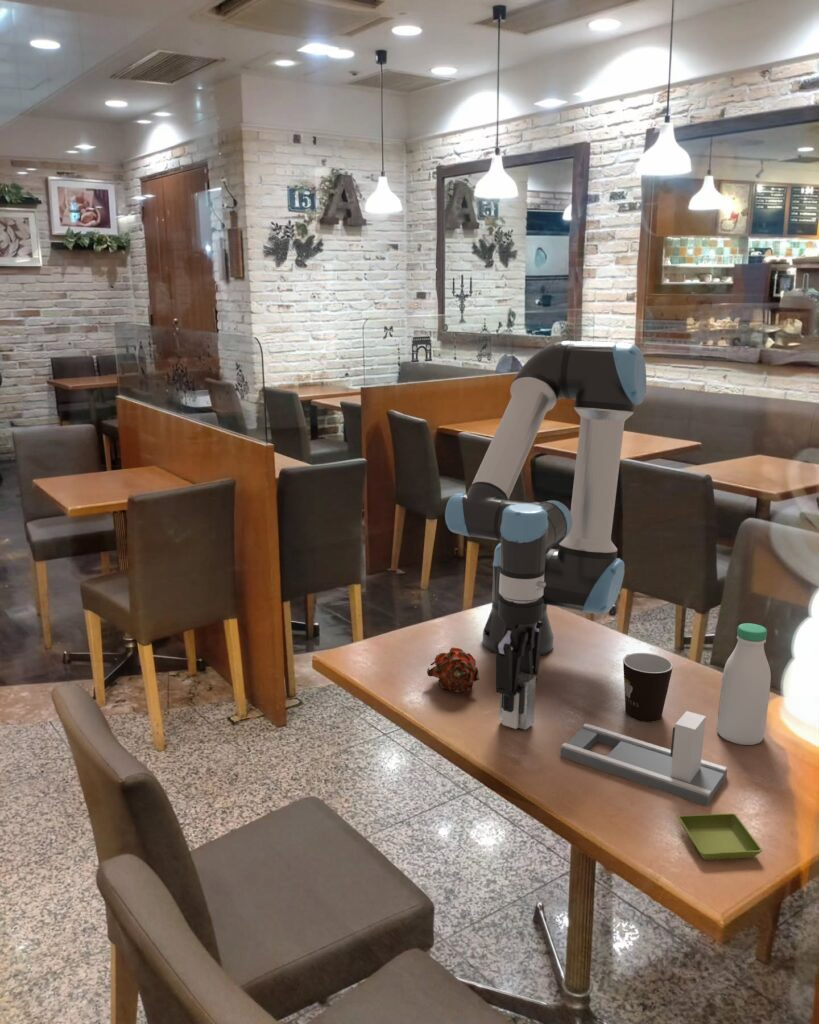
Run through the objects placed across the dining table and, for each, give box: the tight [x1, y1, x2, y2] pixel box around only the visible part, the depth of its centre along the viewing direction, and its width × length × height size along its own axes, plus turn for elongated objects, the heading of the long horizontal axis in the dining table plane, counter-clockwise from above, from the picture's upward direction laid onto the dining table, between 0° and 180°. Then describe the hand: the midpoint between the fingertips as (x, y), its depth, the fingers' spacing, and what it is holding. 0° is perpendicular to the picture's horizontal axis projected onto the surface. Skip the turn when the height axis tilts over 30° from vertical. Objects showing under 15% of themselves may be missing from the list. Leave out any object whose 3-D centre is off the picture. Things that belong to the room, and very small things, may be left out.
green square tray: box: [677, 812, 763, 861], centre depth 122 cm, size 9×9×2 cm
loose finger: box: [498, 671, 537, 731], centre depth 153 cm, size 5×4×9 cm
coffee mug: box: [622, 652, 674, 723], centre depth 159 cm, size 12×9×10 cm
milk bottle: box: [716, 622, 772, 746], centre depth 149 cm, size 8×8×20 cm
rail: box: [559, 710, 728, 807], centre depth 140 cm, size 10×24×10 cm, turn 55°
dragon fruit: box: [426, 646, 480, 694], centre depth 167 cm, size 8×8×12 cm
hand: (515, 720), depth 154 cm, fingers closed on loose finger, 3 cm apart
